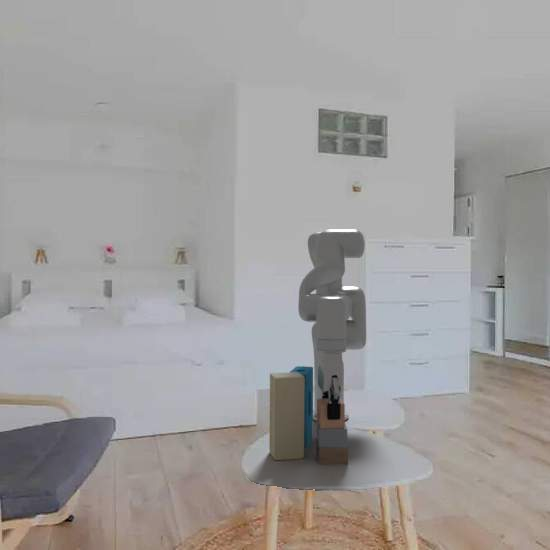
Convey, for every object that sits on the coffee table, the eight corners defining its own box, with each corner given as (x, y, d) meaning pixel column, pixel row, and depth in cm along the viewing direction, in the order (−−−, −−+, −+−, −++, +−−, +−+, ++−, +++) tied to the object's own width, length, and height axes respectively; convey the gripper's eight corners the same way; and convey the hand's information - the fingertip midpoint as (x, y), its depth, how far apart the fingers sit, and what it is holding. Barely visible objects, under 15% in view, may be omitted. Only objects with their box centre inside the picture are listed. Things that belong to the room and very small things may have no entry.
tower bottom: (316, 455, 140) (316, 438, 140) (343, 455, 140) (343, 438, 140) (319, 465, 133) (319, 447, 133) (347, 465, 133) (347, 447, 133)
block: (305, 449, 144) (305, 375, 144) (287, 448, 145) (287, 374, 145) (313, 435, 156) (313, 366, 155) (296, 434, 157) (296, 366, 156)
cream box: (297, 448, 145) (297, 371, 144) (305, 458, 137) (304, 376, 137) (268, 451, 143) (268, 372, 142) (274, 461, 136) (274, 378, 135)
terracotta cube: (317, 421, 140) (317, 398, 139) (339, 421, 140) (339, 398, 140) (320, 428, 134) (320, 404, 133) (344, 428, 134) (344, 404, 134)
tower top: (317, 437, 140) (317, 420, 140) (344, 438, 140) (344, 421, 140) (318, 447, 133) (318, 429, 133) (347, 447, 133) (347, 429, 133)
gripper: (311, 340, 145) (311, 406, 145) (321, 351, 127) (321, 425, 128) (339, 340, 145) (339, 405, 146) (353, 350, 128) (353, 424, 128)
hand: (331, 414), depth 137 cm, fingers open, 7 cm apart
